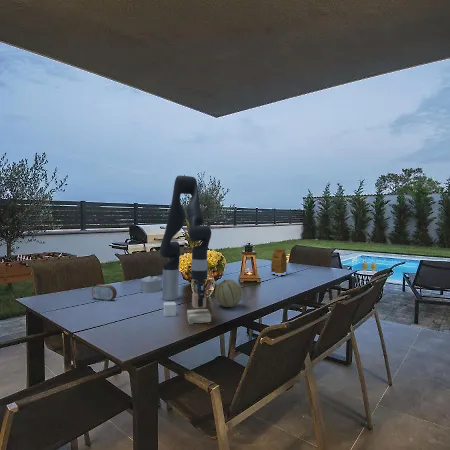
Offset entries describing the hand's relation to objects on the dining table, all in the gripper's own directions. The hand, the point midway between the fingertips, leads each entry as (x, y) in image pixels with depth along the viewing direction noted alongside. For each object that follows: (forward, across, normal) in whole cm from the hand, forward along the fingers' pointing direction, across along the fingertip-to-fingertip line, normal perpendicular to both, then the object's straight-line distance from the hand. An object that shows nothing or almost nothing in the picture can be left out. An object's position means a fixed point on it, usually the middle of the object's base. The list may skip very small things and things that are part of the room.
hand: (198, 304), depth 151 cm
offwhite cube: (+7, +12, +12) cm, 19 cm away
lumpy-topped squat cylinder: (+7, +65, +17) cm, 68 cm away
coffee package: (+7, +96, -87) cm, 130 cm away
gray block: (+8, 0, 0) cm, 8 cm away
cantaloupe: (+8, +18, -20) cm, 28 cm away
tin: (+7, +48, +45) cm, 66 cm away
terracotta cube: (+1, 0, 0) cm, 1 cm away
